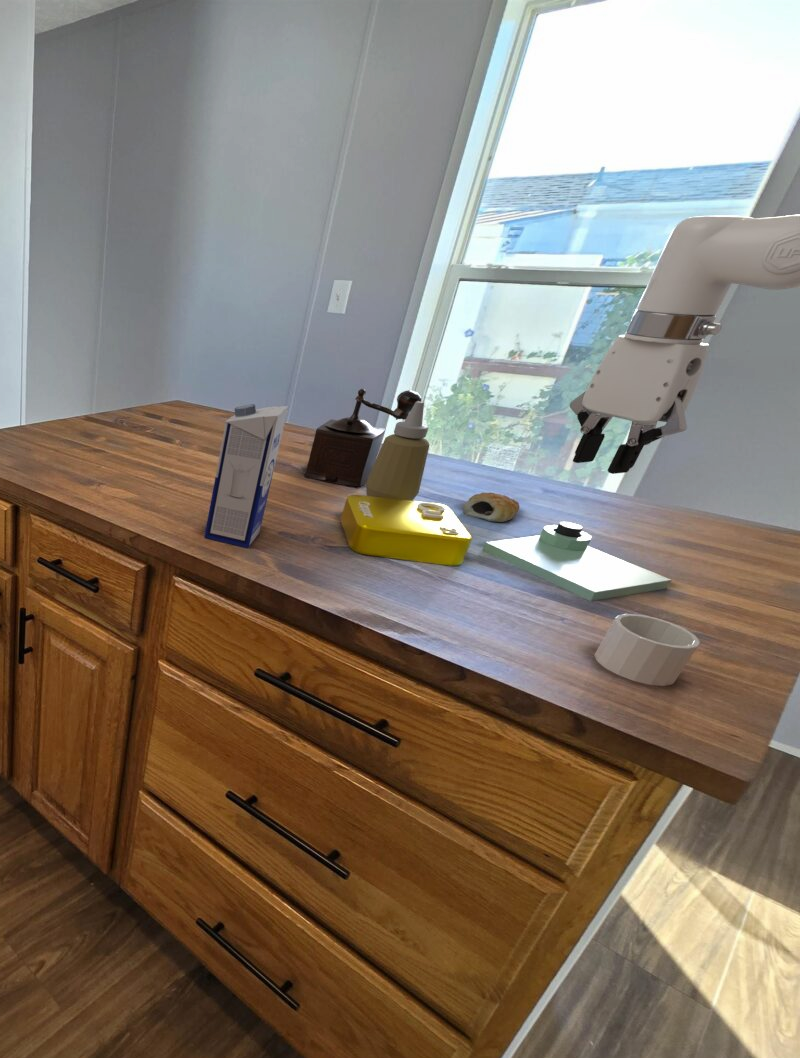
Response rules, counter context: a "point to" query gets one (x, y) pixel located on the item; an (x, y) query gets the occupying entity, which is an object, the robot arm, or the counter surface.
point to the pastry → (491, 507)
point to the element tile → (404, 530)
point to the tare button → (569, 529)
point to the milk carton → (244, 474)
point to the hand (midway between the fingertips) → (600, 465)
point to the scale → (576, 565)
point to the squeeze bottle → (401, 459)
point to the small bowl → (646, 649)
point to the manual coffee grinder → (352, 443)
